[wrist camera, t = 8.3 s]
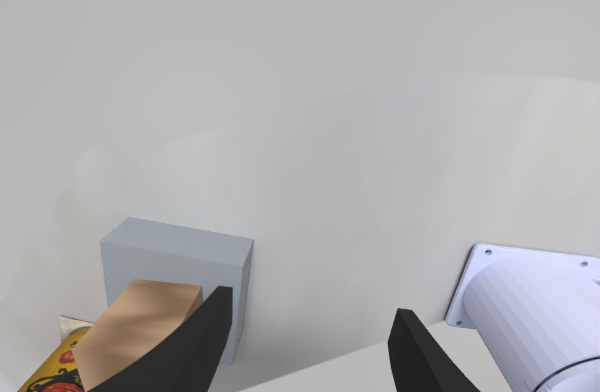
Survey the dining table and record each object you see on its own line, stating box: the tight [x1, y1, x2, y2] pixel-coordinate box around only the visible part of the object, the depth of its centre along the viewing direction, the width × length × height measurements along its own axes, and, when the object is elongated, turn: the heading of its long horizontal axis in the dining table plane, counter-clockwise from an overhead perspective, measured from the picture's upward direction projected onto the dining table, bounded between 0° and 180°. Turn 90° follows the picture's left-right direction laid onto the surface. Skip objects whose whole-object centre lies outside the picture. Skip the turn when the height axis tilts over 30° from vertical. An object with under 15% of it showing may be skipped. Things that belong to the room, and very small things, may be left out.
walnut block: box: [72, 279, 203, 392], centre depth 20 cm, size 5×5×6 cm
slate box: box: [100, 217, 254, 365], centre depth 25 cm, size 10×10×4 cm
